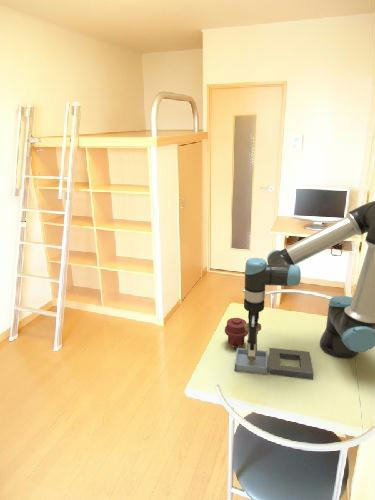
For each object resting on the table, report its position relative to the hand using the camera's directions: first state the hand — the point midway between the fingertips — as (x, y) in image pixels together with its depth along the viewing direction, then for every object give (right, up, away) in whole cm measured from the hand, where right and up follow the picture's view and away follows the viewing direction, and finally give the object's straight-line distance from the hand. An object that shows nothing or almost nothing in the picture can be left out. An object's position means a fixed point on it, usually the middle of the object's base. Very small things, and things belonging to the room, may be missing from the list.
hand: (251, 352), depth 140 cm
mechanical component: (-4, -1, +14) cm, 15 cm away
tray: (0, -5, +2) cm, 6 cm away
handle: (0, -3, +1) cm, 3 cm away
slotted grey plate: (+15, -5, +1) cm, 16 cm away
